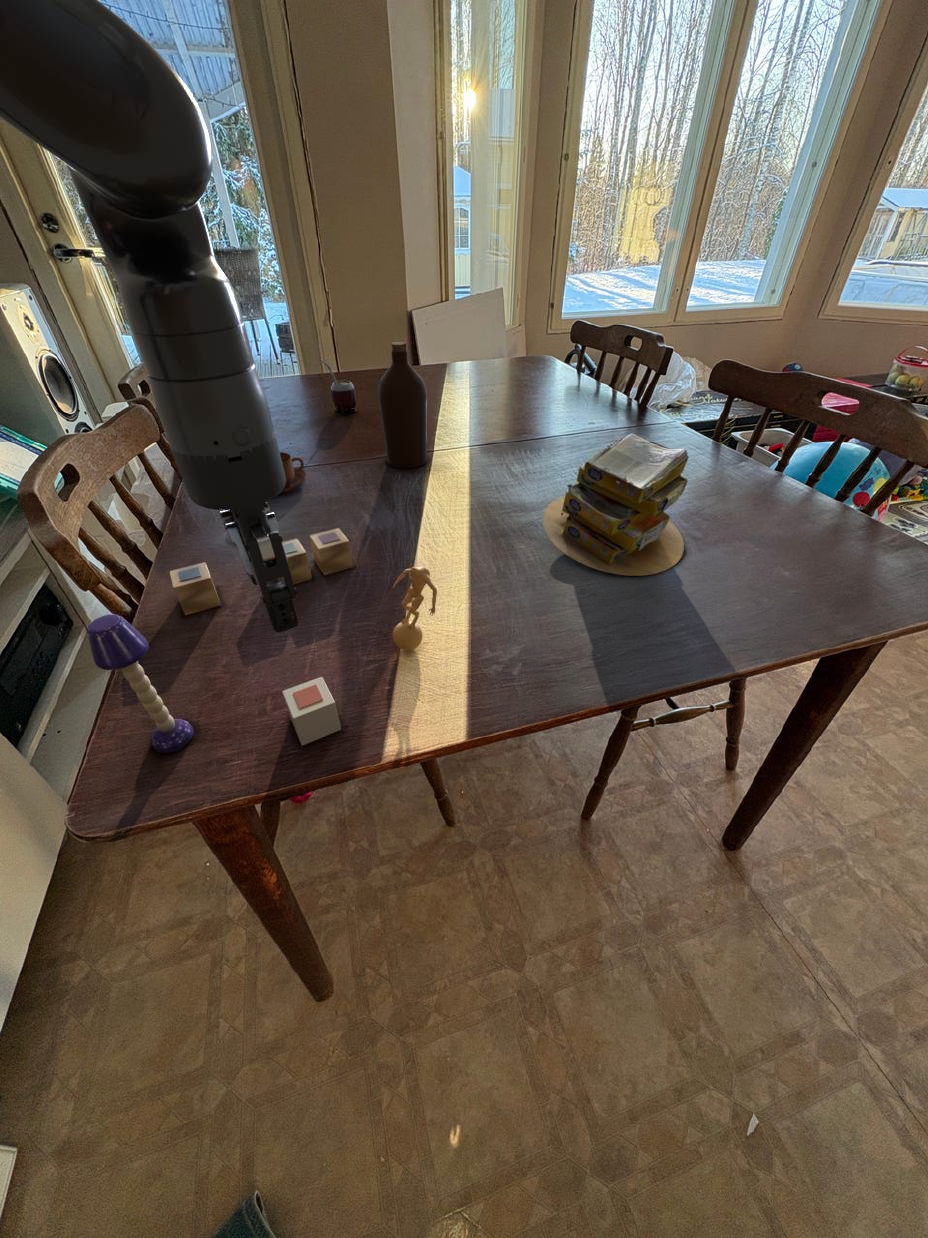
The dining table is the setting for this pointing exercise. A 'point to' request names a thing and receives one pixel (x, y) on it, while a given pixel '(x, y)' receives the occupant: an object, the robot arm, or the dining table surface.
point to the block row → (328, 554)
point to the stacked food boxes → (622, 509)
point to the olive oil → (403, 411)
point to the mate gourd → (342, 394)
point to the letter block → (312, 710)
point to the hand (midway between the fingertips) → (274, 603)
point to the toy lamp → (136, 676)
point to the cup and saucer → (292, 472)
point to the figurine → (413, 608)
